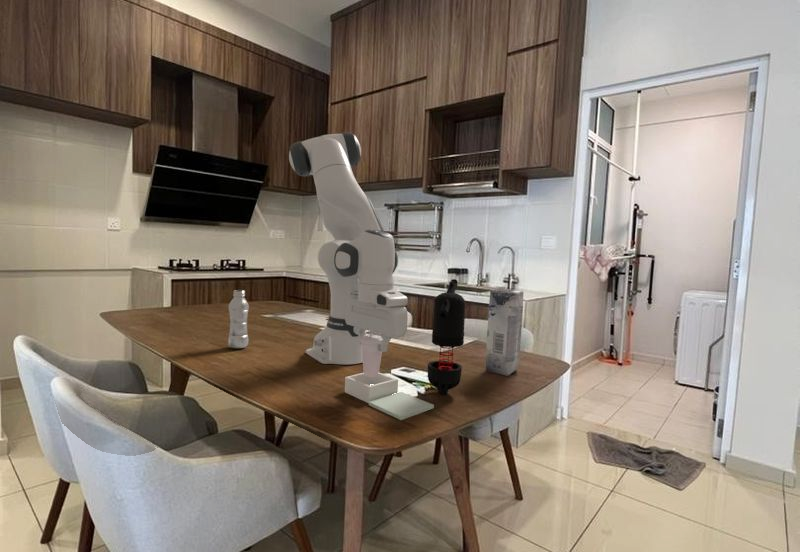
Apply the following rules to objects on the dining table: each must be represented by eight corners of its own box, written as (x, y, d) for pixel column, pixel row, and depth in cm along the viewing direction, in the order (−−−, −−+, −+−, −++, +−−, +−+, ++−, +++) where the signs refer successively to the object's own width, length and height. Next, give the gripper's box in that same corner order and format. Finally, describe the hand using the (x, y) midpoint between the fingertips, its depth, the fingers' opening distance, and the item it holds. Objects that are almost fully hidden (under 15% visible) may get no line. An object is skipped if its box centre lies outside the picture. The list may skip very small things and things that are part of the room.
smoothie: (366, 369, 112) (369, 317, 111) (387, 373, 110) (390, 320, 108) (353, 375, 107) (356, 321, 106) (375, 380, 104) (378, 324, 103)
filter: (431, 384, 118) (437, 277, 115) (463, 389, 115) (470, 279, 113) (418, 401, 105) (424, 281, 102) (454, 407, 102) (462, 283, 100)
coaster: (368, 405, 101) (368, 401, 101) (401, 394, 108) (401, 391, 108) (401, 420, 93) (401, 416, 93) (433, 408, 101) (433, 404, 101)
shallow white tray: (344, 392, 109) (345, 376, 108) (372, 384, 115) (373, 370, 115) (368, 403, 102) (369, 387, 101) (397, 394, 108) (398, 379, 108)
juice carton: (520, 370, 136) (526, 286, 134) (509, 378, 127) (515, 288, 125) (494, 364, 141) (499, 284, 138) (482, 371, 132) (487, 286, 130)
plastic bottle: (252, 347, 147) (253, 290, 146) (235, 351, 141) (236, 292, 140) (240, 344, 151) (241, 289, 149) (223, 348, 145) (224, 290, 143)
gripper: (340, 290, 112) (338, 341, 113) (394, 300, 97) (391, 359, 98) (359, 289, 116) (356, 338, 117) (413, 299, 102) (409, 355, 103)
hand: (372, 348), depth 108 cm, fingers closed on smoothie, 6 cm apart
